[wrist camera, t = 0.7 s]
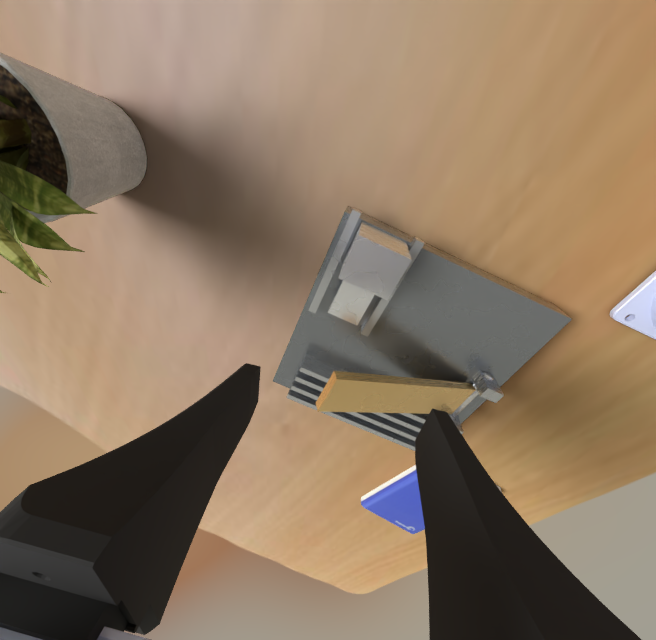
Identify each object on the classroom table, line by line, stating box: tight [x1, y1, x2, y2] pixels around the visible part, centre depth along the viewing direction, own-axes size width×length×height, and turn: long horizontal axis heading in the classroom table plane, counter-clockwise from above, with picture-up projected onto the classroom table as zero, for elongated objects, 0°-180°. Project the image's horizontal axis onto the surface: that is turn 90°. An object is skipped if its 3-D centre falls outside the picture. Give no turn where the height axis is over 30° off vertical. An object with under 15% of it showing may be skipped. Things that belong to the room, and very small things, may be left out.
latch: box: [328, 222, 412, 325], centre depth 16 cm, size 3×5×3 cm, turn 157°
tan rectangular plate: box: [316, 371, 476, 414], centre depth 18 cm, size 11×3×1 cm, turn 68°
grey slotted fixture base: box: [273, 206, 572, 451], centre depth 20 cm, size 15×15×4 cm
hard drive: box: [361, 465, 502, 534], centre depth 31 cm, size 2×8×12 cm
